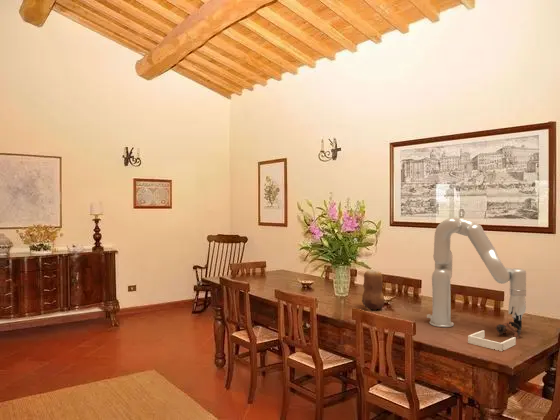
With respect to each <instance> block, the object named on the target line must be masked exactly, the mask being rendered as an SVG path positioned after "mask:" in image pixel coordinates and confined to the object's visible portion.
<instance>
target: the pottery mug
mask: <svg viewBox="0 0 560 420" xmlns="http://www.w3.org/2000/svg"><path fill="white" fill-rule="evenodd" d="M514 327H517V328H514ZM495 330H496V332H497V333H498V334H499V336H502V335H503V334H506V333H507V331H511V332H512V333H513V336H512V338H513V337H516V339H517V338H518V337H520V336H521V333H522V328H521V327H520V326H519V325H517V324H516V323H514V321H512V320H511V321H510V320H508V321H507V322H504V323H503V324H501V323H500V324H497V325H496V327H495Z"/></svg>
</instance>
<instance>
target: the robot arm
mask: <svg viewBox="0 0 560 420" xmlns="http://www.w3.org/2000/svg"><path fill="white" fill-rule="evenodd" d="M453 234H458V235H462V236H466V237H467V238H468V240H469V241H470V243H471V244H472V245H473V247H474V249H475V250H476V252H477V254H478V256H479V258H480V259H481V261H482V262H483V263H484V265H485V266H486V268H487V270H488V272H489V273H490V275H491V277H492V278H493V279H494V281H495V282H496V283H498V284H506V283H508V282H509V295H510V296H509V299H508V315H511V317H512V318H513V322H514V323H516V324H517V325H519V326H520V327H521V329H522V328H523V327H522V325H523V323H522V321H523V320H522V319H523V315H524V314H525V313H526V309H527V308H526V307H527V306H526V305H527V304H526V297H527V271H526V269H524V268H515V267H514V268H510V267H505V266H504V264H503V261H501V258H500V257H499V255H498V253H497V250H496V247H495V246H494V245H493V243H492V241H491V240H490V239H489V236H488V235H487V233H486V232H485V231H484V228H483V227H482V225H481V224H479V223H477V222H473V221H469V220H466V219H462V218H459V217H456V216H455V217H454V216H453V217H449V218H447V219H445V220H443V221H441V222H440V223H439V224H438V225H437V226H436V228H435V230H434V238H433V239H434V240H433V256H432V257H433V261H434V270H433V272H432V274H431V287H432V291H431V292H432V294H431V296H432V314H430V313H428V314H426V318H427V319H430V321H429V325H431V326H434V327H438V328H439V327H440V328H450V327H451V328H452V327H454V322H453V321H451V311H452V308H451V307H452V306H451V305H452V304H451V303H452V302H451V301H452V299H451V295H452V293H451V280H452V277H453V253H452V250H451V236H452V235H453ZM513 328H514V329H517V327H514V326H513Z"/></svg>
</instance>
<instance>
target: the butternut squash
mask: <svg viewBox="0 0 560 420" xmlns="http://www.w3.org/2000/svg"><path fill="white" fill-rule="evenodd" d="M382 290H383V275H382V272H380V271H379V270H373V269H368V270H366V271H365V272H364V273H363V293H362V297H361V298H362V299H361V303H362V304H363V306H364V307H365V308H367V309H369V310H371V311H378V310H379V309H382V308H383V307H384V305H385V296H384V293H383V291H382ZM377 309H378V310H377Z"/></svg>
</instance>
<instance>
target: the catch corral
mask: <svg viewBox="0 0 560 420" xmlns="http://www.w3.org/2000/svg"><path fill="white" fill-rule="evenodd" d="M485 335H486V334H485V330H483V329H482V330H480V331H476V332H474V333H472V334H469V335H467V343H468V344H470V345H474V346H479V347H483V348H487V349H491V350H494V349H495V350H494V351H498V350H499V351H498V352H503V350H504V351H506V350H508V349H510V348H512V347H514V346H517V340H516V339H517V338H516V337H513V336H512V337H511V338H508V339H506V340H504V341H502V342H498V341H494V340H490V339H486V338H485Z"/></svg>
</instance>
